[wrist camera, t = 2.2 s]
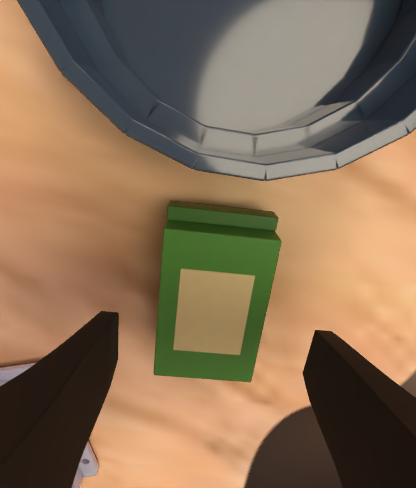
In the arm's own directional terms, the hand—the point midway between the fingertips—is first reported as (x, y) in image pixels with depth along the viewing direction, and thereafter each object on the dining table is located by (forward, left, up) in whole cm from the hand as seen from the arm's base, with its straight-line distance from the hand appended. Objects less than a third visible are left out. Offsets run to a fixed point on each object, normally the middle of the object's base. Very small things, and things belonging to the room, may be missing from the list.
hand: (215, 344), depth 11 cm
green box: (0, 0, -5) cm, 5 cm away
